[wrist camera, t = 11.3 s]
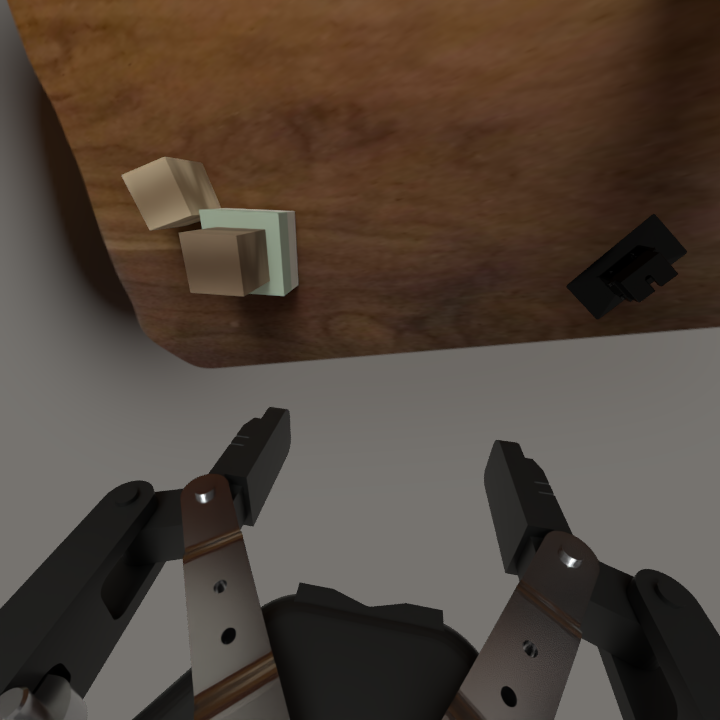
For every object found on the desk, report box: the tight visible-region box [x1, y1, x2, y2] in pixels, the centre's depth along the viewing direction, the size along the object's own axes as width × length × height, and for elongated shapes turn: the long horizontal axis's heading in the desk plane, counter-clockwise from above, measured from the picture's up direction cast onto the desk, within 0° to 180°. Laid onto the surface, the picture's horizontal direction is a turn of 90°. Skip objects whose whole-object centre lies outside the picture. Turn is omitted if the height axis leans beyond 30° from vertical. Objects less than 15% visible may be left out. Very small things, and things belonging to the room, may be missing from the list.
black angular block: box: [567, 214, 687, 319], centre depth 32 cm, size 12×7×5 cm, turn 140°
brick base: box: [199, 208, 298, 296], centre depth 36 cm, size 8×8×5 cm
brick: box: [121, 157, 221, 231], centre depth 34 cm, size 5×5×6 cm
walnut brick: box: [179, 227, 270, 296], centre depth 31 cm, size 5×5×6 cm
